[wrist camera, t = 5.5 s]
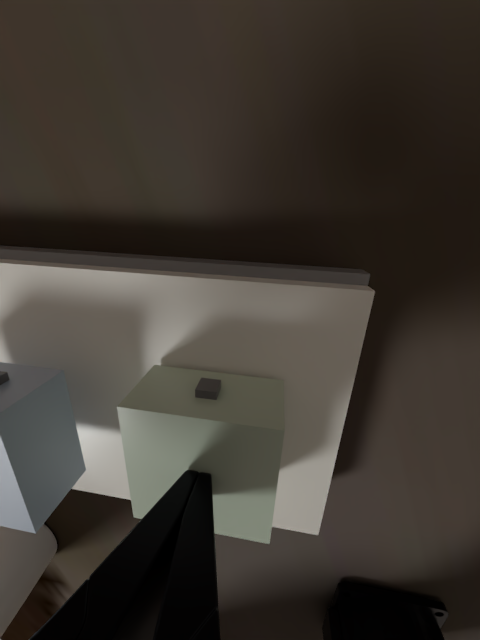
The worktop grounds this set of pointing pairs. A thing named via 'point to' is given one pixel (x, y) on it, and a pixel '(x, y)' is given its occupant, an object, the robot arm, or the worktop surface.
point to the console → (191, 347)
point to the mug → (21, 567)
